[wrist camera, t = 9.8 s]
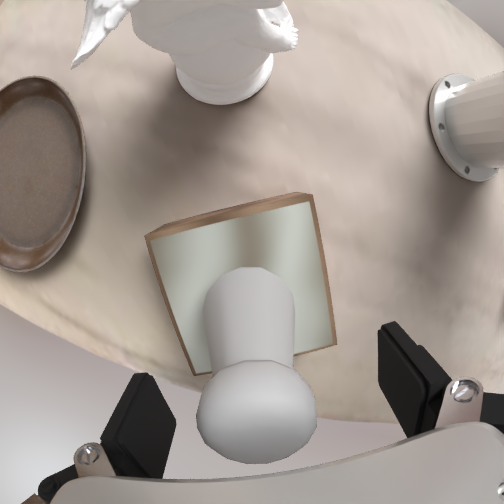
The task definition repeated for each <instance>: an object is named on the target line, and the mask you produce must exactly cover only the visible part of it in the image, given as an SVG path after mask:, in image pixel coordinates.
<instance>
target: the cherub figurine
mask: <svg viewBox="0 0 504 504" xmlns="http://www.w3.org/2000/svg"><path fill="white" fill-rule="evenodd" d="M84 1H87V6H86V15H85V21H84V27H83V34H82V37H81V42H80V47H79V50H78V52H77V56H76V57H75V59H74V60H73V61H72V66H71V70H72V69H74V68H75V67H77V66H78V65H80V64H81V63H82V62H84V61H85V60H86V59H87V58H88V57H90V56H91V55H92V54H93V53H94V52H95V51H96V49H97V48H98V46H99V45H100V43H101V42H102V41H103V40H104V39H105V38H106V36H107V35H108V34H109V33H110V32H111V31H112V30H115V29H116V28H117V26H118V25H119V23H120V22H121V21H122V20H123V18H124V17H125V16H126V15H127V14H128V12H129V11H130V13H131V17H132V25H133V30H134V32H135V34H136V36H137V37H138V38H139V39H140V40H142V41H143V42H145V43H146V44H148V45H149V46H151V47H153V48H155V49H157V50H159V51H162V52H165V53H169V55H170V57H171V59H172V61H173V62H174V63H175V65H176V73H177V77H178V80H179V82H180V84H181V86H182V87H183V88H184V90H185V91H186V92H187V93H189V94H190V95H191V96H192V97H193V98H195V99H196V100H198V101H202V102H205V103H208V104H214V105H226V104H233V103H237V102H240V101H243V100H245V99H247V98H249V97H251V96H252V95H254V94H255V93H256V92H258V91H259V90H260V89H261V88H262V87H263V86H264V85H265V83H266V82H267V81H268V79H269V77H270V75H271V72H272V68H273V55H272V53H277V52H286V51H289V50H293V49H295V46H296V45H297V41H298V39H297V37H298V35H297V34H296V33H297V32H298V30H297V29H296V28H294V27H293V19H292V18H291V16H290V13H289V12H288V9H287V7H286V5H285V4H284V2H283V0H84ZM272 23H276V25H279V27H278V26H275V25H273V24H272Z"/></svg>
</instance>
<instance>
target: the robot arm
mask: <svg viewBox="0 0 504 504" xmlns="http://www.w3.org/2000/svg"><path fill="white" fill-rule="evenodd" d="M429 116H430V124H431V129H432V133H433V136H434V139H435V142H436V144H437V146H438V148H439V151H440V153H441V154H442V156H443V158H444V159H445V161H446V162H447V164H448V165H449V166H450V167H451V168H452V170H453V171H455V172H456V173H457V174H458V175H459V176H461V177H463V178H465V179H467V180H470V181H479V182H481V181H486V180H488V179H490V178H492V177H493V176H494V175H495V174H496V173H497V171H498V169H499V168H504V71H503V72H500V73H496V74H493V75H490V76H487V77H484V78H481V79H478V80H474V79H472V78H470V77H468V76H466V75H463V74H459V73H457V74H450V75H447V76H445V77H443V78H441V79H440V80H439V81H438V82H437V83H436V84H435V86H434V88H433V90H432V92H431V96H430V102H429ZM378 382H379V386H380V388H381V390H382V392H383V393H384V395H385V397H386V399H387V401H388V403H389V404H390V406H391V408H392V410H393V412H394V414H395V416H396V417H397V419H398V421H399V423H400V425H401V427H402V428H403V431H404V432H405V434H406V436H407V439H404V440H401V441H399V442H396V443H393V444H390V445H387V446H384V447H381V448H378V449H375V450H372V451H368V452H365V453H362V454H359V455H355V456H352V457H348V458H345V459H341V460H337V461H333V462H329V463H325V464H320V465H316V466H311V467H306V468H301V469H296V470H290V471H284V472H279V473H272V474H264V475H255V476H246V477H236V478H219V479H162V478H163V473H164V470H165V466H166V462H167V458H168V455H169V451H170V447H171V443H172V439H173V436H174V432H175V428H176V419H175V417H174V415H173V414H172V412H171V410H170V408H169V406H168V404H167V403H166V401H165V399H164V397H163V395H162V393H161V391H160V389H159V388H158V385H157V383H156V381H155V379H154V378H153V376H151V375H149V374H148V373H135V374H134V375H133V376H132V378H131V380H130V382H129V384H128V385H127V387H126V389H125V391H124V393H123V395H122V397H121V399H120V401H119V403H118V404H117V406H116V408H115V410H114V412H113V414H112V416H111V418H110V420H109V422H108V424H107V426H106V428H105V430H104V431H103V433H102V435H101V437H100V439H101V440H102V441H101V443H100V444H98V443H87V444H84V445H83V446H81V447H80V448H79V449H77V451H76V452H75V455H74V463H75V464H74V465H72V466H70V467H68V468H66V469H64V470H62V471H60V472H58V473H55V474H53V475H51V476H49V477H47V478H45V479H44V480H43V481H42V482H41V483H40V485H39V487H38V495H36V494H33V495H32V496H30V497H29V498H28V499H27V500H25V501H24V502H23V503H22V504H504V394H495V393H486V392H483V386H482V384H481V383H480V382H479V381H478V380H476V379H474V378H471V377H460V378H456V379H455V380H452V379H451V378H450V377H449V375H448V374H447V373H446V372H445V371H444V370H443V369H442V367H441V366H440V365H439V364H438V363H437V362H436V361H435V359H434V358H433V357H432V356H431V355H430V354H429V353H428V352H427V350H426V349H425V348H424V347H423V346H422V345H418V346H417V344H416V343H415V342H414V341H413V340H412V339H411V338H410V337H409V335H408V334H407V333H406V332H405V331H404V330H403V329H402V328H401V327H400V326H399V324H398V323H397V322H396V321H393V322H390V323H387V324H384V325H382V326H381V329H380V330H378Z"/></svg>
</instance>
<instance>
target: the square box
mask: <svg viewBox="0 0 504 504" xmlns="http://www.w3.org/2000/svg"><path fill="white" fill-rule="evenodd" d="M145 240H146V243H147V247H148V250H149V253H150V257H151V260H152V263H153V266H154V270H155V273H156V276H157V279H158V282H159V285H160V288H161V291H162V294H163V297H164V300H165V303H166V305H167V308H168V311H169V314H170V317H171V319H172V322H173V325H174V328H175V330H176V333H177V336H178V338H179V341H180V343H181V346H182V348H183V351H184V353H185V356H186V358H187V361H188V363H189V366H190V368H191V371H192V373H193V375H194V376H197V375H203V374H209V373H212V368H211V362H210V356H209V350H208V343H207V337H206V330H205V324H204V317H203V307H204V303H205V299H206V295H207V292H208V290H209V289H210V288H211V287H212V286H213V284H214V283H215V282H216V281H217V280H218V278H219V277H220V276H221V275H222V274H225V273H227V272H230V271H232V270H235V269H237V268H240V267H261V268H263V269H265V270H267V271H269V272H271V273H273V274H275V275H277V276H279V277H280V278H281V279H282V281H283V282H284V283H285V284H286V286H287V287H288V288H289V290H290V291H291V292H292V294H293V300H294V307H295V334H294V356H297V355H301V354H305V353H309V352H312V351H316V350H320V349H324V348H327V347H331V346H334V345H337V338H336V330H335V322H334V315H333V307H332V300H331V294H330V287H329V281H328V274H327V268H326V262H325V256H324V251H323V245H322V239H321V234H320V229H319V223H318V218H317V213H316V208H315V203H314V199H313V195H312V194H306V193H300V192H294V193H289V194H285V195H280V196H276V197H272V198H267V199H263V200H258V201H254V202H250V203H246V204H242V205H237V206H233V207H229V208H225V209H221V210H217V211H213V212H209V213H205V214H201V215H198V216H194V217H190V218H186V219H182V220H179V221H175V222H171V223H168V224H165V225H163V226H161V227H159V228H157V229H156V230H154V231H152V232H150V233H149V234H147V235H145Z"/></svg>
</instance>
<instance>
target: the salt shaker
mask: <svg viewBox="0 0 504 504" xmlns="http://www.w3.org/2000/svg"><path fill="white" fill-rule="evenodd" d="M203 317H204V324H205V330H206V337H207V343H208V350H209V356H210V362H211V368H212V374H213V378H212V379H211V380H210V381H209V382H208V383H207V384H206V385H205V386H204V388H203V391H202V395H201V399H200V402H199V406H198V410H197V414H196V419H197V428H198V430H199V432H200V434H201V436H202V438H203V440H204V442H205V444H207V445H208V446H209V447H210V448H212V449H213V450H215V451H216V452H217V453H219V454H220V455H222V456H224V457H225V458H227V459H230V460H234V461H238V462H242V463H246V464H267V463H271V462H274V461H278V460H281V459H284V458H287V457H289V456H290V455H292V454H293V453H295V452H296V451H298V450H299V449H301V448H302V447H303V446H304V445H306V444H307V443H308V441H309V439H310V438H311V436H312V434H313V432H314V431H315V429H316V427H317V423H316V422H317V421H316V406H315V396H314V394H313V392H312V389H311V387H310V386H309V384H308V383H307V382H306V381H305V380H304V379H303V378H302V377H301V376H300V375H299V374H298V373H297V372H296V371H295V370H294V369H293V356H294V334H295V307H294V300H293V294H292V292H291V291H290V290H289V288H288V287H287V286H286V284H285V283H284V282H283V281H282V279H281V278H280V277H279V276H277V275H275V274H273V273H271V272H269V271H267V270H265V269H263V268H261V267H240V268H237V269H235V270H232V271H230V272H227V273H225V274H222V275H221V276H220V277H219V278H218V280H217V281H216V282H215V283H214V284H213V286H212V287H211V288H210V289H209V290H208V292H207V295H206V299H205V303H204V307H203Z"/></svg>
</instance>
